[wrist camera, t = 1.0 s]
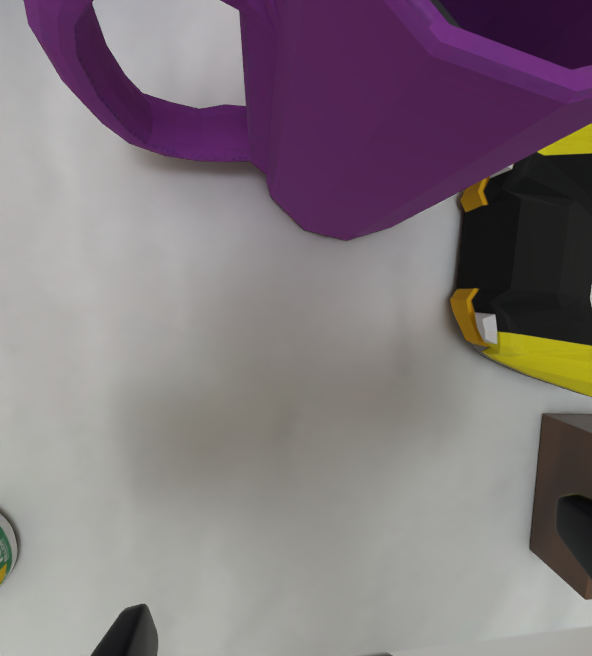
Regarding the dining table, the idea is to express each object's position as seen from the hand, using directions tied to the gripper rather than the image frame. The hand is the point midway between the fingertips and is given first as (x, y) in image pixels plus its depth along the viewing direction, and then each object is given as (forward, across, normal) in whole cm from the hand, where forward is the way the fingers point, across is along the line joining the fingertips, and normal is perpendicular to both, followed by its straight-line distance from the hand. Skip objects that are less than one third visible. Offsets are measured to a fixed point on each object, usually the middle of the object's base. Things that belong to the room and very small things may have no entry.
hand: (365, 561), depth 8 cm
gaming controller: (+14, -15, -3) cm, 21 cm away
